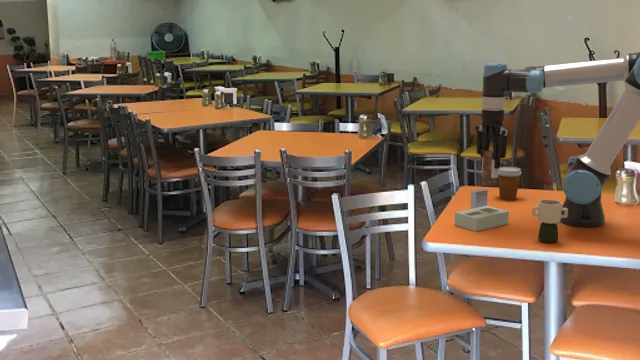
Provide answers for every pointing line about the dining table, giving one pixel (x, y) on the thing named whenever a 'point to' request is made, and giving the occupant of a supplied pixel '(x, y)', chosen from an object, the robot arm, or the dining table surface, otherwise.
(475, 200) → the grey upright tile
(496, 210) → the socket block
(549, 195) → the dining table surface
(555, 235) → the character mug
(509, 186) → the disposable coffee cup
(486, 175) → the walnut peg
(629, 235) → the dining table surface
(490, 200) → the dining table surface
